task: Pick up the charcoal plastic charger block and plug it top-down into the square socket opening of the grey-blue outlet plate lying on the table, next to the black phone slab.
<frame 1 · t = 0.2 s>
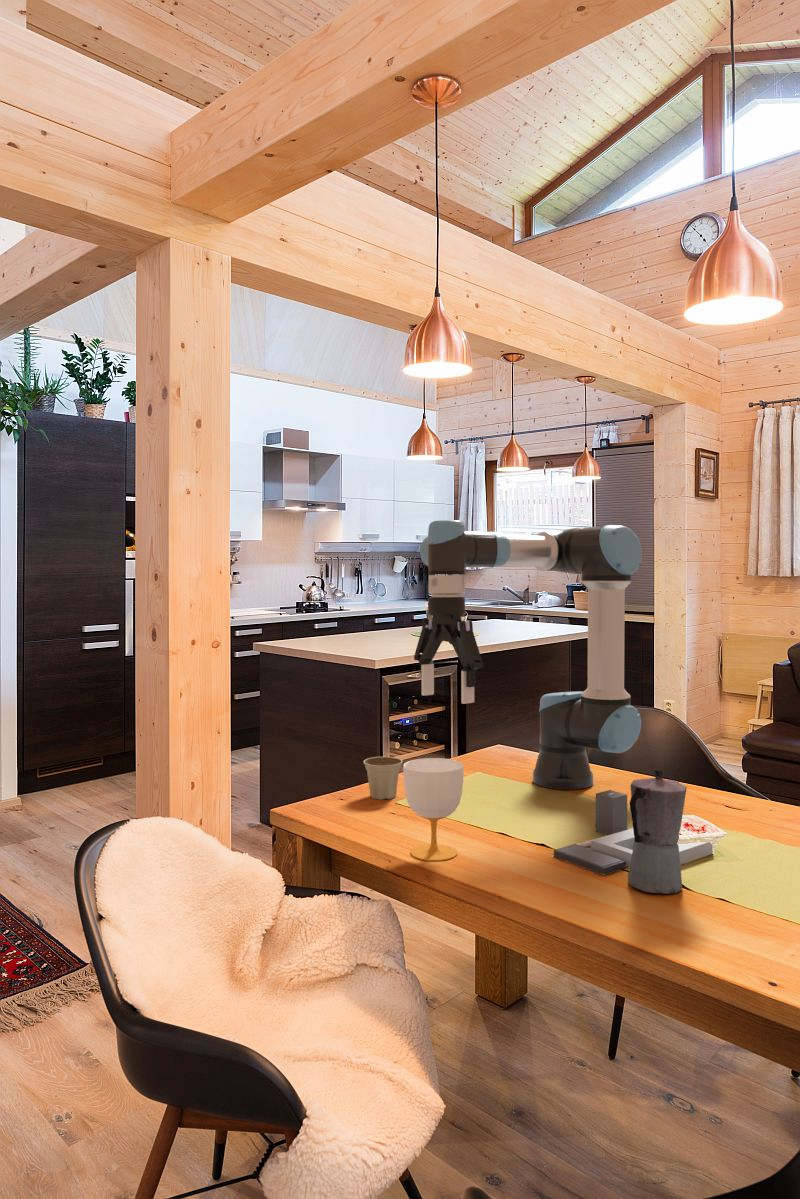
hand: (447, 699, 169), 28 cm above the table, fingers open, 13 cm apart
charger block: (611, 832, 169), on the table
phone: (589, 862, 151), on the table
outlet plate: (651, 853, 156), on the table
cable: (596, 843, 161), on the table
moka pot: (654, 888, 139), on the table
cup: (433, 854, 157), on the table
flower pot: (383, 797, 197), on the table
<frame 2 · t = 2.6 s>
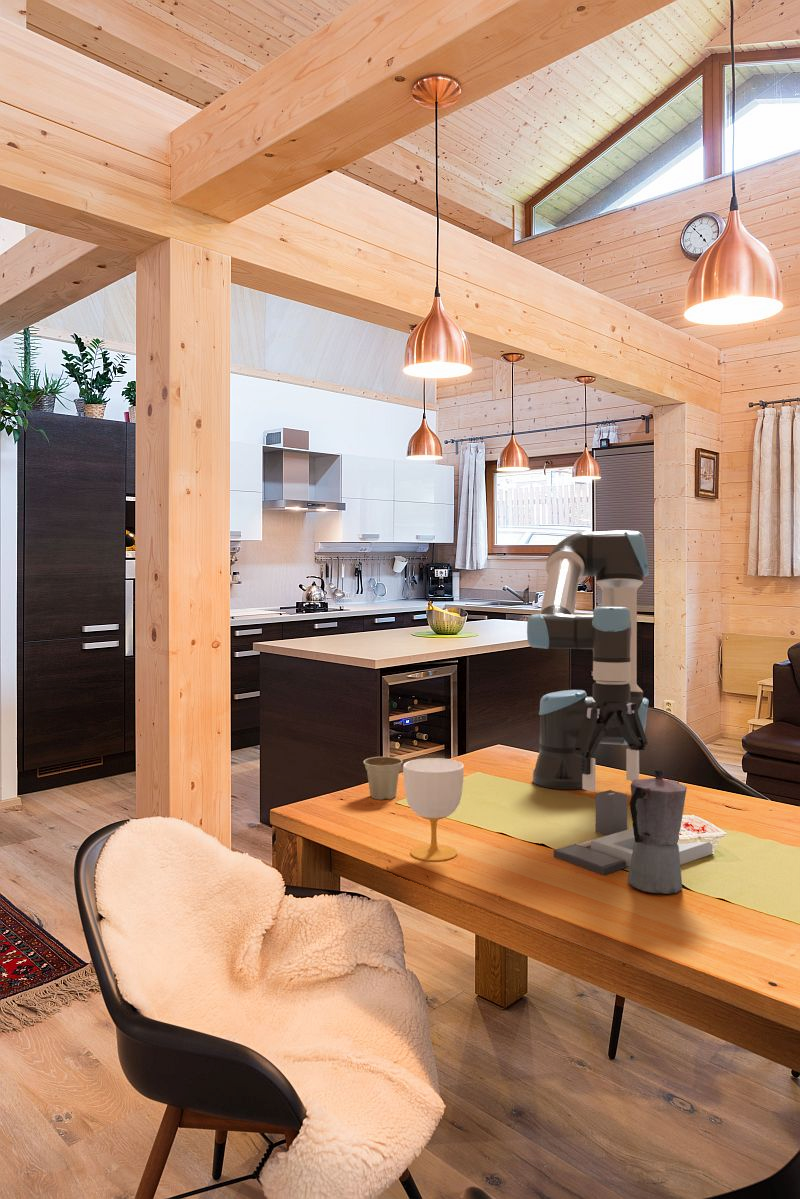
hand: (611, 785, 168), 10 cm above the table, fingers open, 13 cm apart
nothing on the table moved.
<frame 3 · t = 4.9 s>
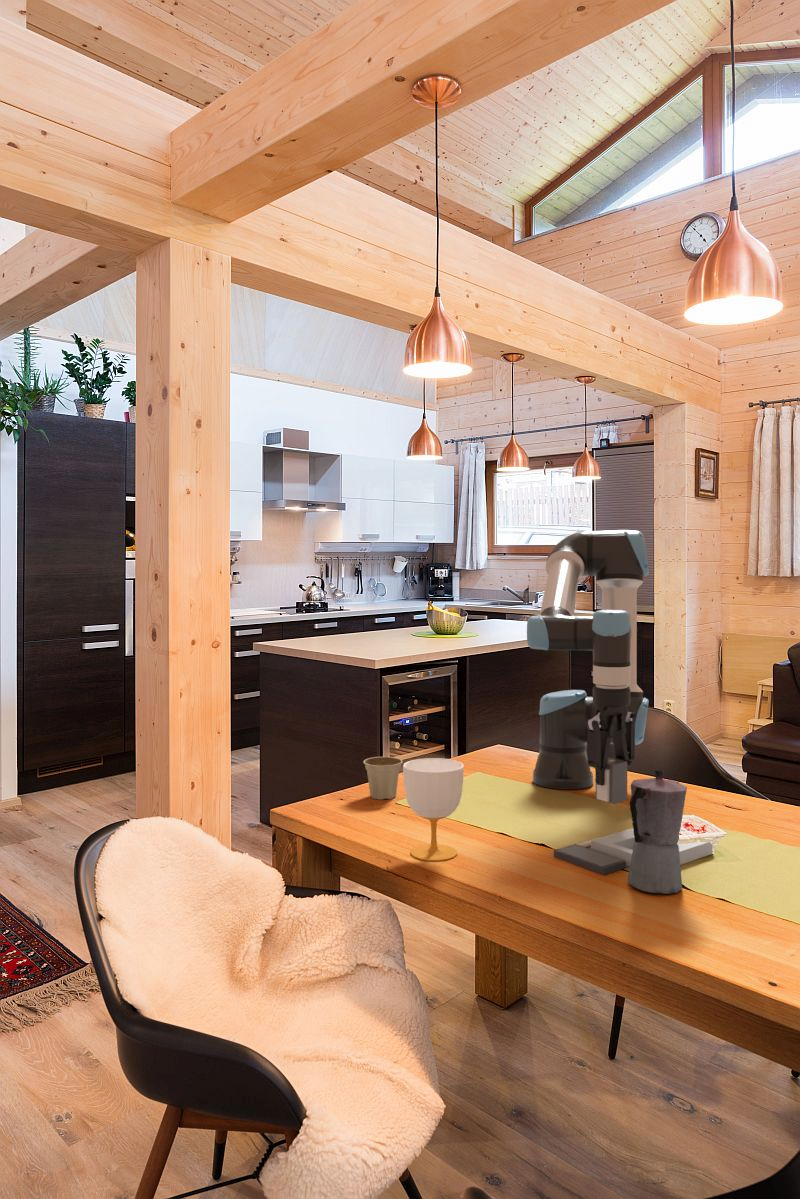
hand: (611, 797, 169), 7 cm above the table, fingers closed on charger block, 4 cm apart
charger block: (611, 799, 169), point 7 cm above the table, touching gripper
everything else where it was.
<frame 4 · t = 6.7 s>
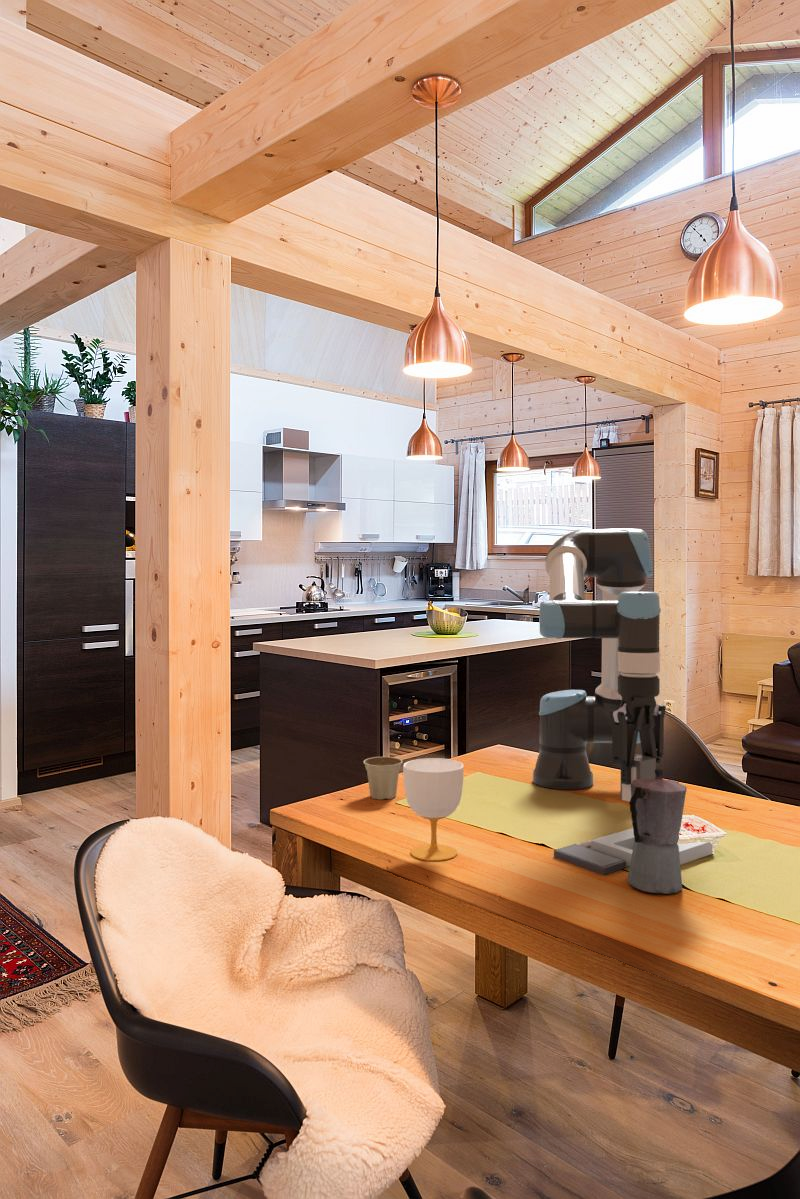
hand: (638, 798, 153), 11 cm above the table, fingers closed on charger block, 4 cm apart
charger block: (638, 800, 153), point 11 cm above the table, touching gripper
everything else where it was.
when the fingers open (3 cm above the table, at t = 8.6 s): charger block drops 3 cm, resting in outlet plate.
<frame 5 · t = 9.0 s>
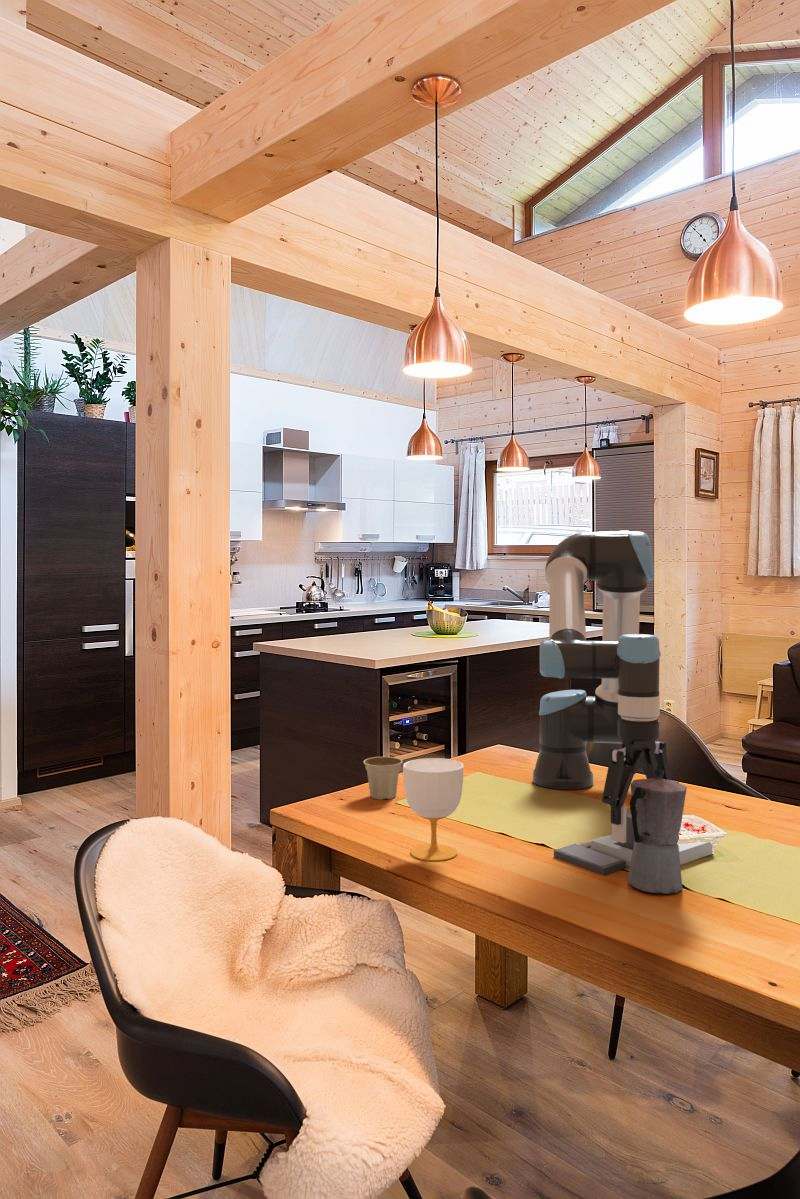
hand: (638, 835, 153), 4 cm above the table, fingers open, 10 cm apart
charger block: (638, 858, 153), resting in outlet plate
everything else where it was.
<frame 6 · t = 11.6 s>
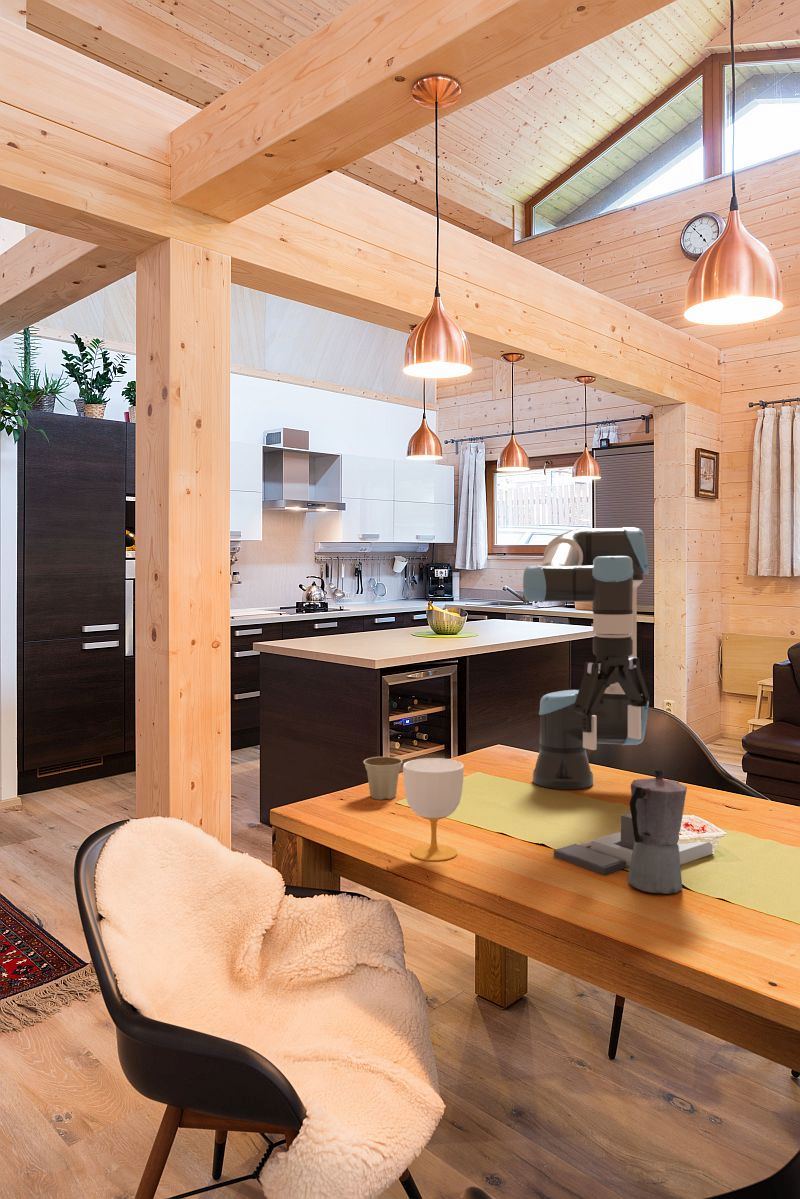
hand: (612, 743, 160), 20 cm above the table, fingers open, 13 cm apart
nothing on the table moved.
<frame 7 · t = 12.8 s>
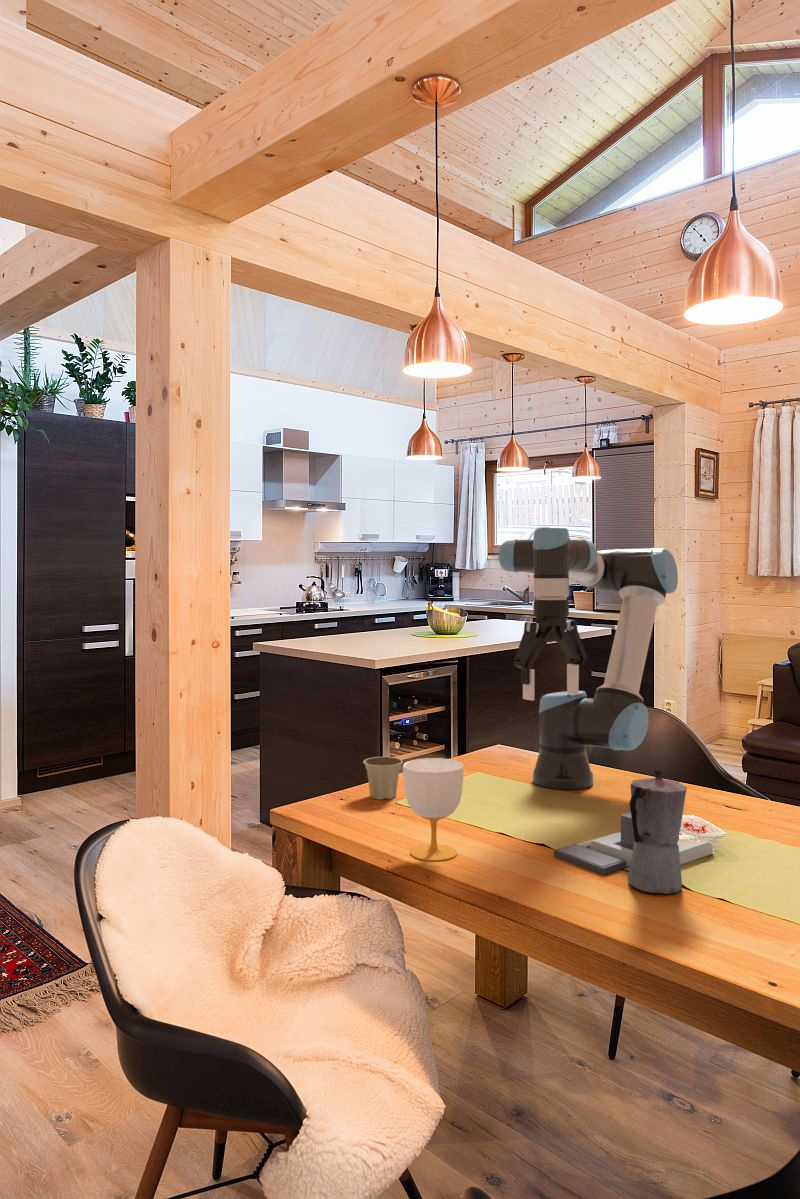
hand: (551, 696, 177), 27 cm above the table, fingers open, 13 cm apart
nothing on the table moved.
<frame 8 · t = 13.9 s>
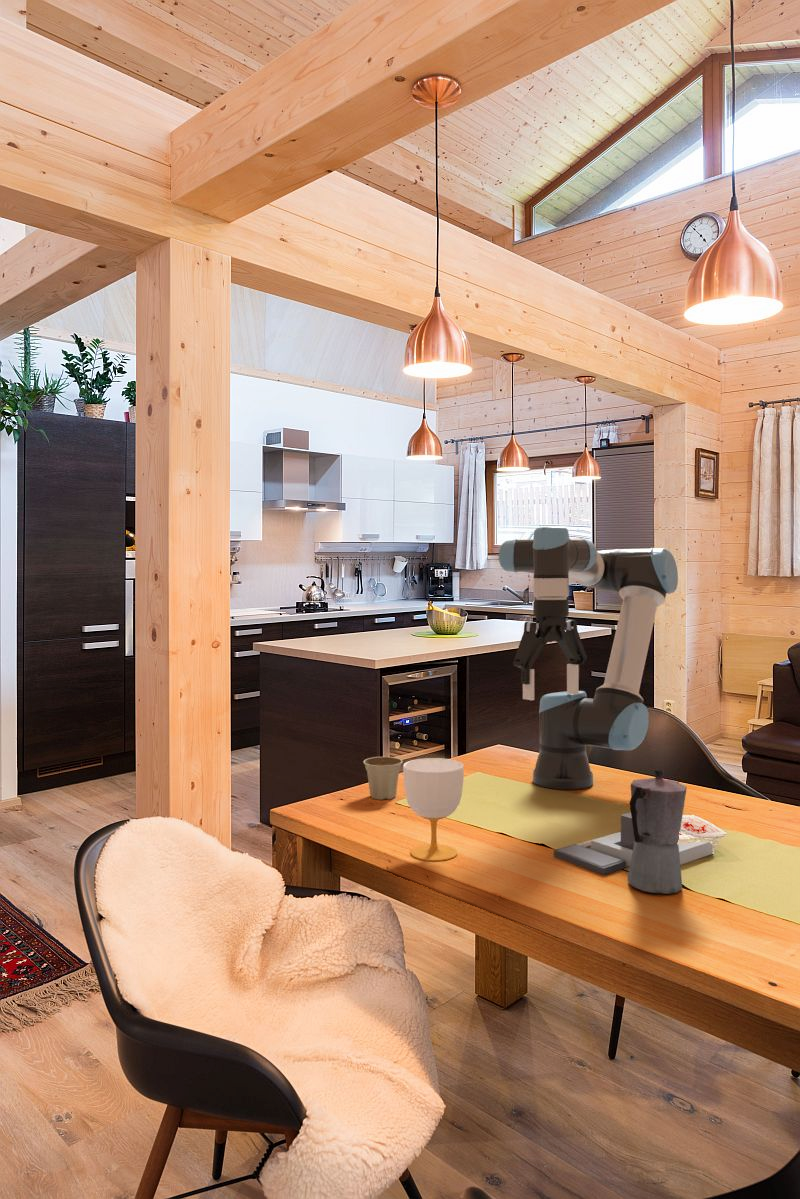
hand: (551, 696, 177), 27 cm above the table, fingers open, 13 cm apart
nothing on the table moved.
at the end: charger block 0.1 cm from the target spot on the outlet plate, point 0.0 cm above the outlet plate's base; charger block tilted 0°; the gripper is holding nothing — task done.
